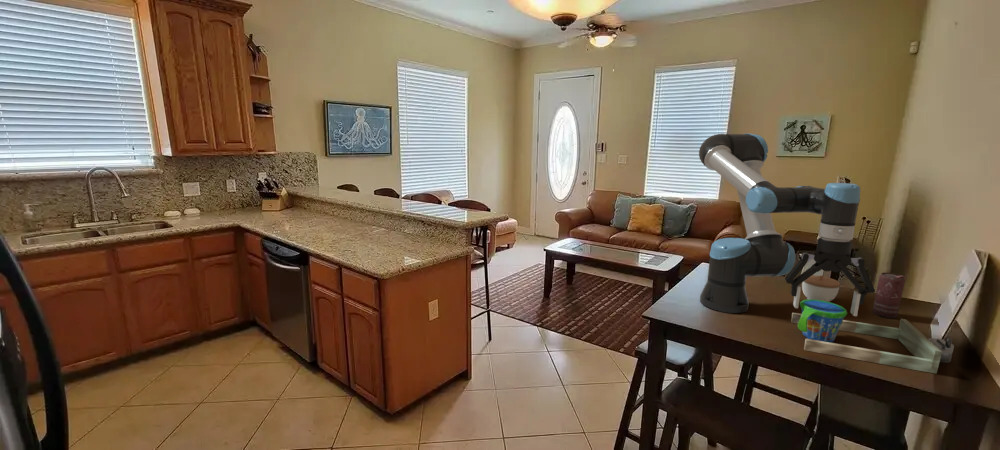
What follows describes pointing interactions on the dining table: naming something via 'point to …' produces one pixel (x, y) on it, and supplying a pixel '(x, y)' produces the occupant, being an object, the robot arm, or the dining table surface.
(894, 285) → the can
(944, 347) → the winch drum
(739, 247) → the robot arm
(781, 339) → the dining table surface
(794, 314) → the bay
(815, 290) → the lidded jar
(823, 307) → the snack cup
